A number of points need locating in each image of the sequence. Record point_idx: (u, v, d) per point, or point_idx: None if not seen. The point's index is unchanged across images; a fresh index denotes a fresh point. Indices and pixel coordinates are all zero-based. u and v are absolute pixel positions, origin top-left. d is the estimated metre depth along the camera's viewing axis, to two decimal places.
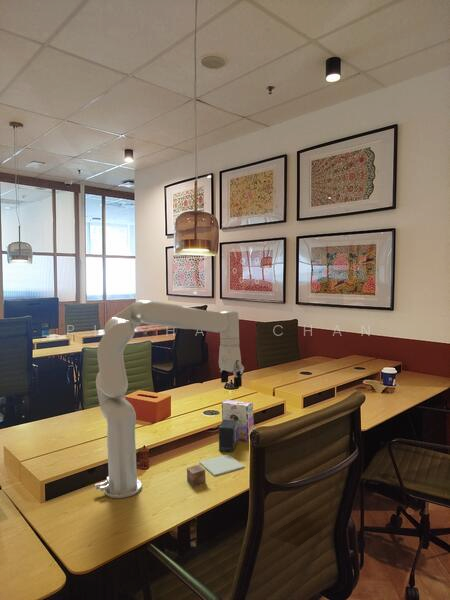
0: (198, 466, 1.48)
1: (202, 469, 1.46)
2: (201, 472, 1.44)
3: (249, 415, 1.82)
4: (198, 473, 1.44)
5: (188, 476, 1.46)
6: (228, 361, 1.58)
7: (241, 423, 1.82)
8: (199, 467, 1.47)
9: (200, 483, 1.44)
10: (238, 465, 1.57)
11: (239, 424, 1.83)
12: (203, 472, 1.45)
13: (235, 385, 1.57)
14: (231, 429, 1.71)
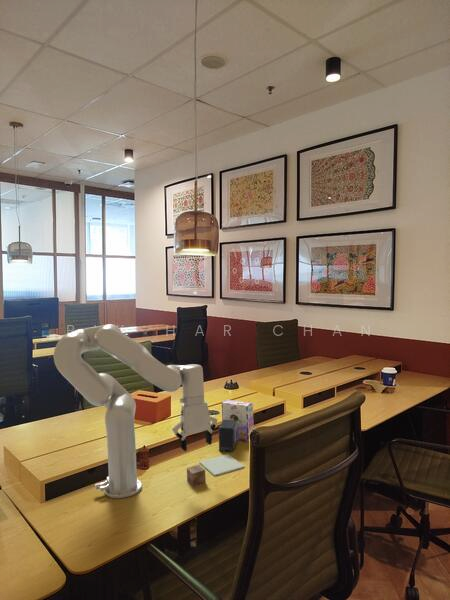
0: (198, 466, 1.48)
1: (202, 469, 1.46)
2: (201, 472, 1.44)
3: (249, 415, 1.82)
4: (198, 473, 1.44)
5: (188, 476, 1.46)
6: (205, 419, 1.44)
7: (241, 423, 1.82)
8: (199, 467, 1.47)
9: (200, 483, 1.44)
10: (238, 465, 1.57)
11: (239, 424, 1.83)
12: (203, 472, 1.45)
13: (210, 442, 1.47)
14: (231, 429, 1.71)
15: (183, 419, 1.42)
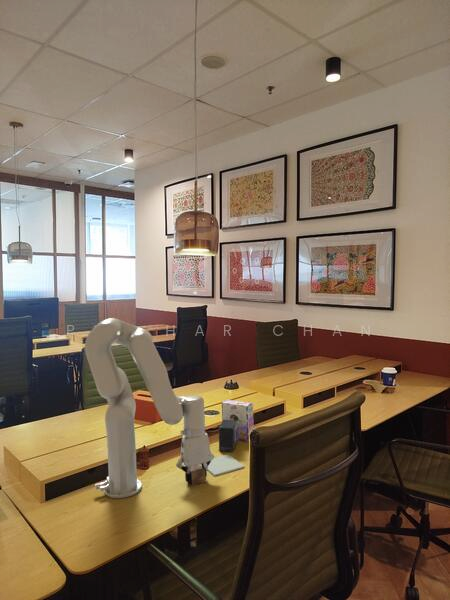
0: (198, 466, 1.48)
1: (202, 469, 1.46)
2: (201, 472, 1.44)
3: (249, 415, 1.82)
4: (198, 473, 1.44)
5: None
6: (205, 451, 1.45)
7: (241, 423, 1.82)
8: (199, 467, 1.47)
9: (200, 483, 1.44)
10: (238, 465, 1.57)
11: (239, 424, 1.83)
12: (203, 472, 1.45)
13: (205, 477, 1.47)
14: (231, 429, 1.71)
15: (183, 451, 1.42)
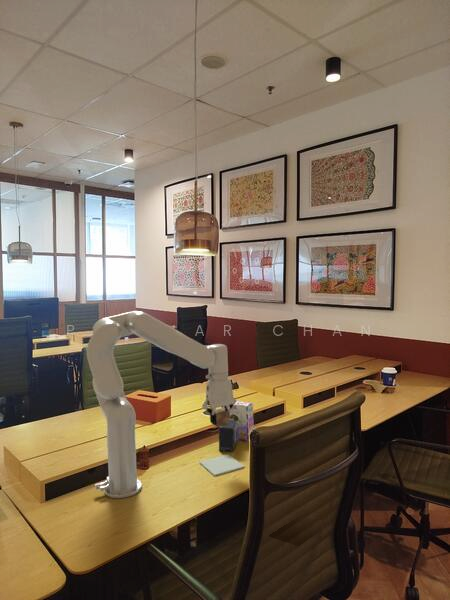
0: (221, 409, 1.60)
1: (225, 411, 1.58)
2: (225, 413, 1.56)
3: (249, 415, 1.82)
4: (222, 414, 1.56)
5: None
6: (229, 394, 1.57)
7: (241, 423, 1.82)
8: (223, 410, 1.59)
9: (224, 423, 1.56)
10: (238, 465, 1.57)
11: (239, 424, 1.83)
12: (226, 413, 1.57)
13: None
14: (231, 429, 1.71)
15: (209, 394, 1.54)
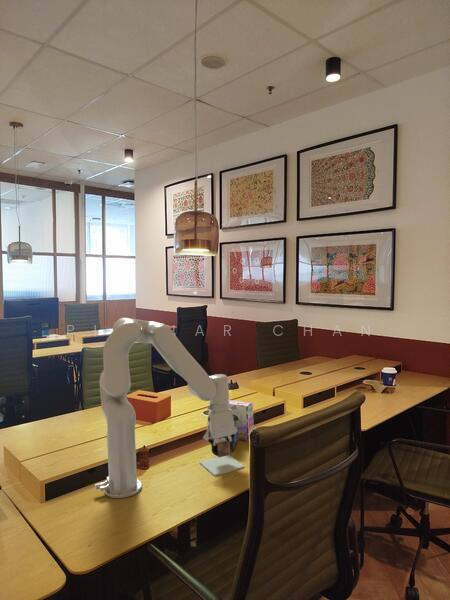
0: (223, 439, 1.61)
1: (227, 441, 1.58)
2: (226, 443, 1.57)
3: (249, 415, 1.82)
4: (223, 445, 1.56)
5: None
6: (230, 425, 1.57)
7: (241, 423, 1.82)
8: (224, 440, 1.60)
9: (225, 454, 1.57)
10: (238, 465, 1.57)
11: (239, 424, 1.83)
12: (228, 444, 1.57)
13: None
14: None
15: (210, 425, 1.55)
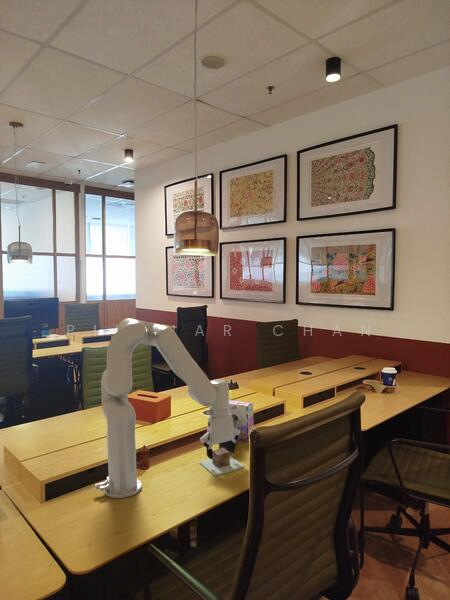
0: (222, 449, 1.61)
1: (226, 451, 1.58)
2: (226, 454, 1.57)
3: (249, 415, 1.82)
4: (223, 455, 1.57)
5: (213, 458, 1.59)
6: (230, 430, 1.57)
7: (241, 423, 1.82)
8: (224, 450, 1.60)
9: (225, 464, 1.57)
10: (238, 465, 1.57)
11: (239, 424, 1.83)
12: (227, 454, 1.58)
13: (233, 451, 1.60)
14: None
15: (210, 430, 1.55)
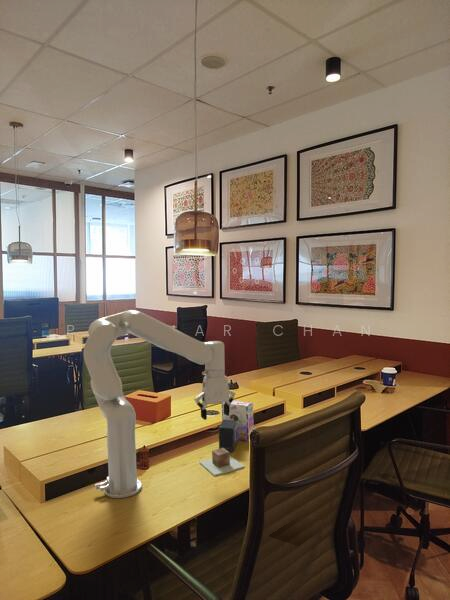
0: (222, 449, 1.61)
1: (226, 451, 1.58)
2: (226, 454, 1.57)
3: (249, 415, 1.82)
4: (223, 455, 1.57)
5: (213, 458, 1.59)
6: (225, 391, 1.57)
7: (241, 423, 1.82)
8: (224, 450, 1.60)
9: (225, 464, 1.57)
10: (238, 465, 1.57)
11: (239, 424, 1.83)
12: (227, 454, 1.58)
13: None
14: (231, 429, 1.71)
15: (205, 390, 1.55)
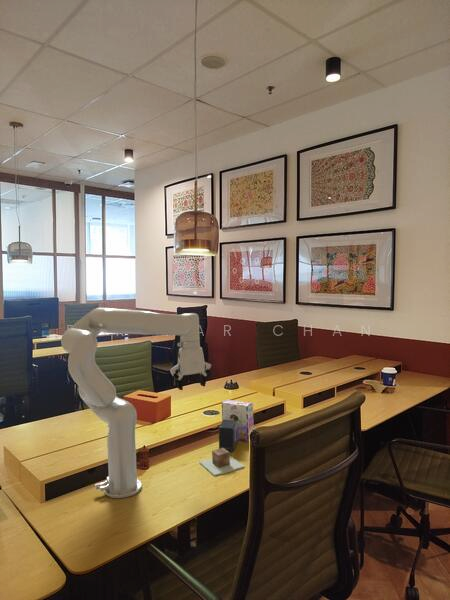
0: (222, 449, 1.61)
1: (226, 451, 1.58)
2: (226, 454, 1.57)
3: (249, 415, 1.82)
4: (223, 455, 1.57)
5: (213, 458, 1.59)
6: (200, 362, 1.60)
7: (241, 423, 1.82)
8: (224, 450, 1.60)
9: (225, 464, 1.57)
10: (238, 465, 1.57)
11: (239, 424, 1.83)
12: (227, 454, 1.58)
13: (204, 384, 1.62)
14: (231, 429, 1.71)
15: (180, 361, 1.57)
